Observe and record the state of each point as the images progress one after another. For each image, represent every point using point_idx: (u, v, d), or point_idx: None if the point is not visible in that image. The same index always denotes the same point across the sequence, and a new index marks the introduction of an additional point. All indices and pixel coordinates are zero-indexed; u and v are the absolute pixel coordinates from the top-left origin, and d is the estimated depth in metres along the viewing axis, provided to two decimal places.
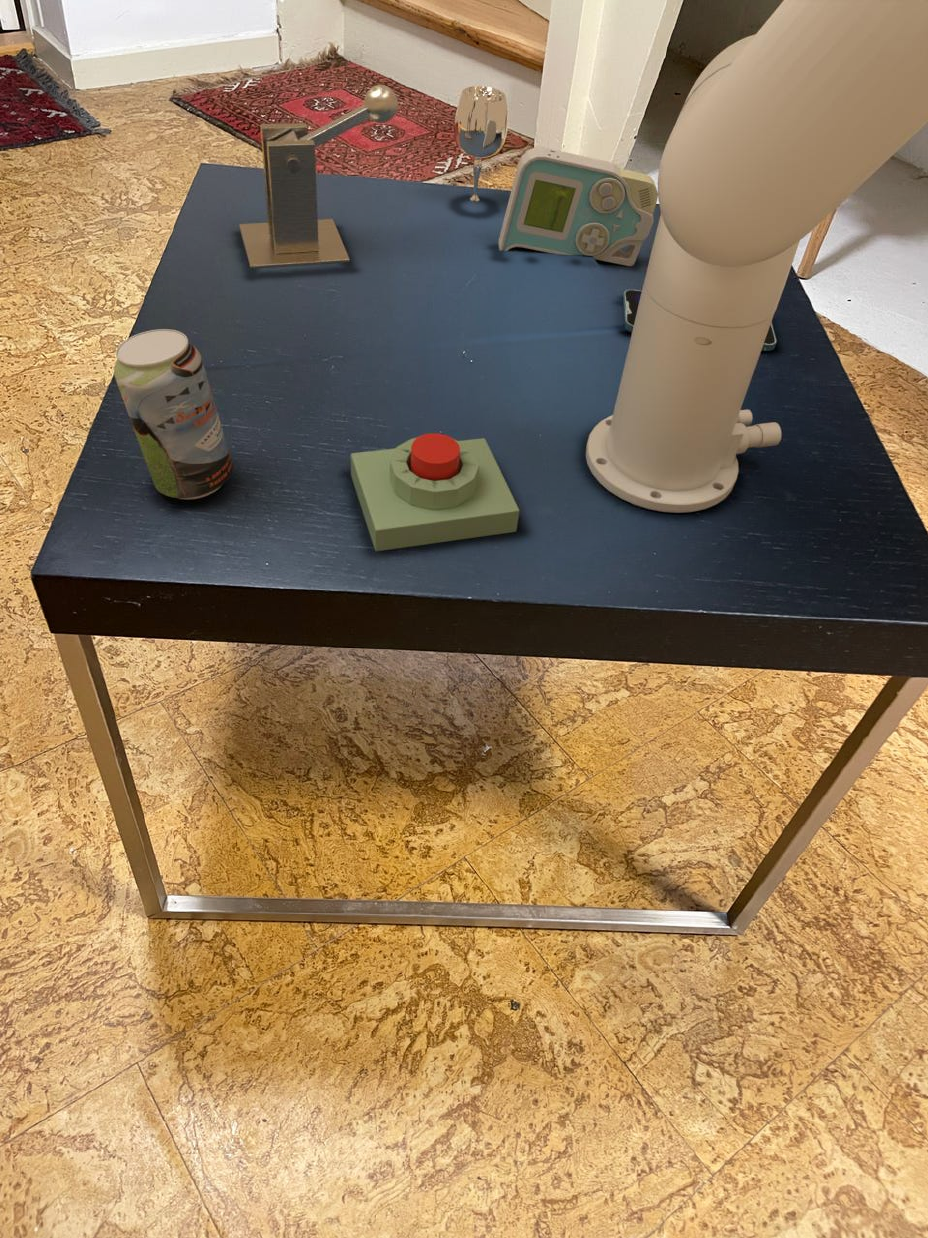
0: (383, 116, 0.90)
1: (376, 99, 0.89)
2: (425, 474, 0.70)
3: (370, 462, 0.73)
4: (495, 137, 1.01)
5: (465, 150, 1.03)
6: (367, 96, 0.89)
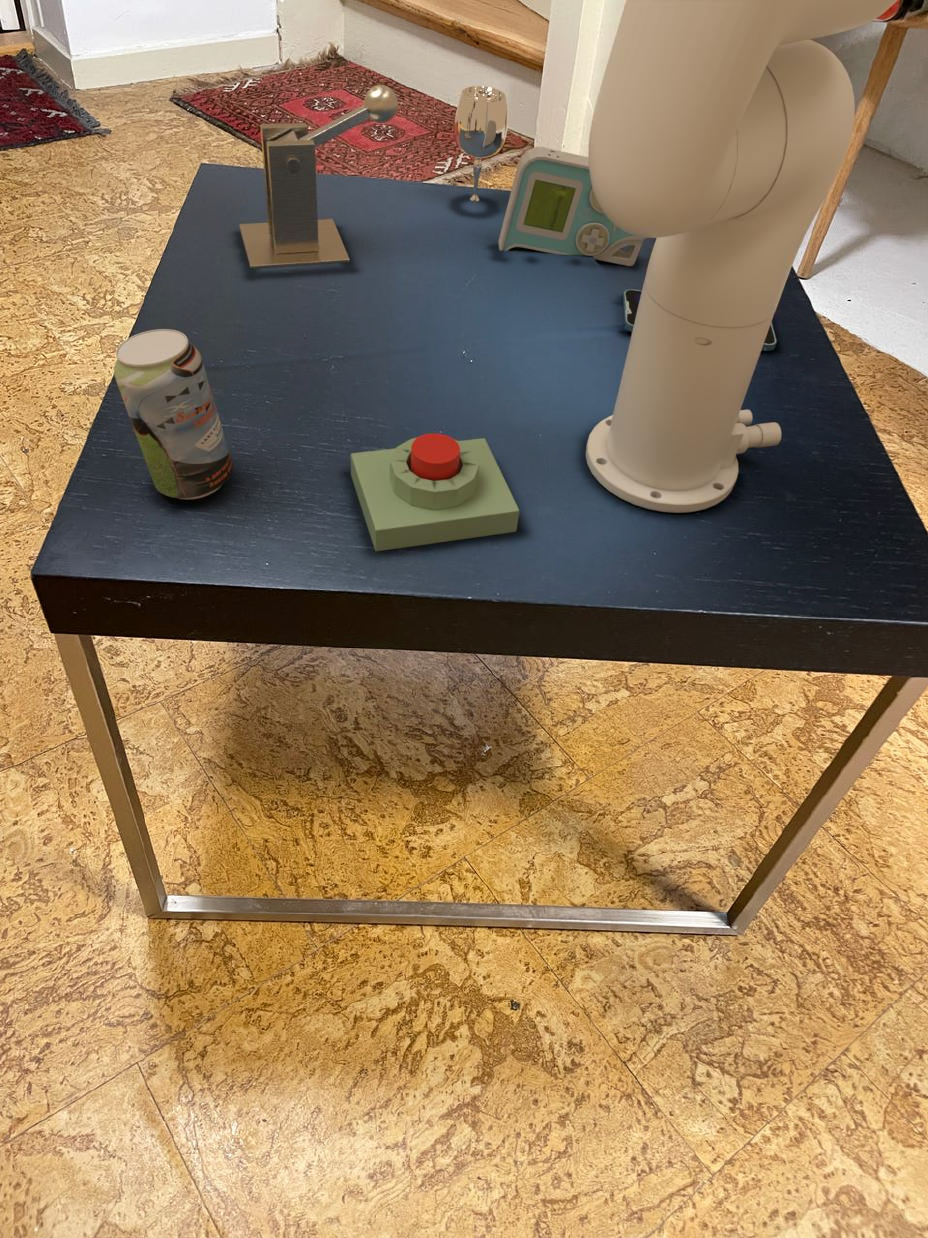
0: (383, 116, 0.90)
1: (376, 99, 0.89)
2: (425, 474, 0.70)
3: (370, 462, 0.73)
4: (495, 137, 1.01)
5: (465, 149, 1.03)
6: (367, 96, 0.89)
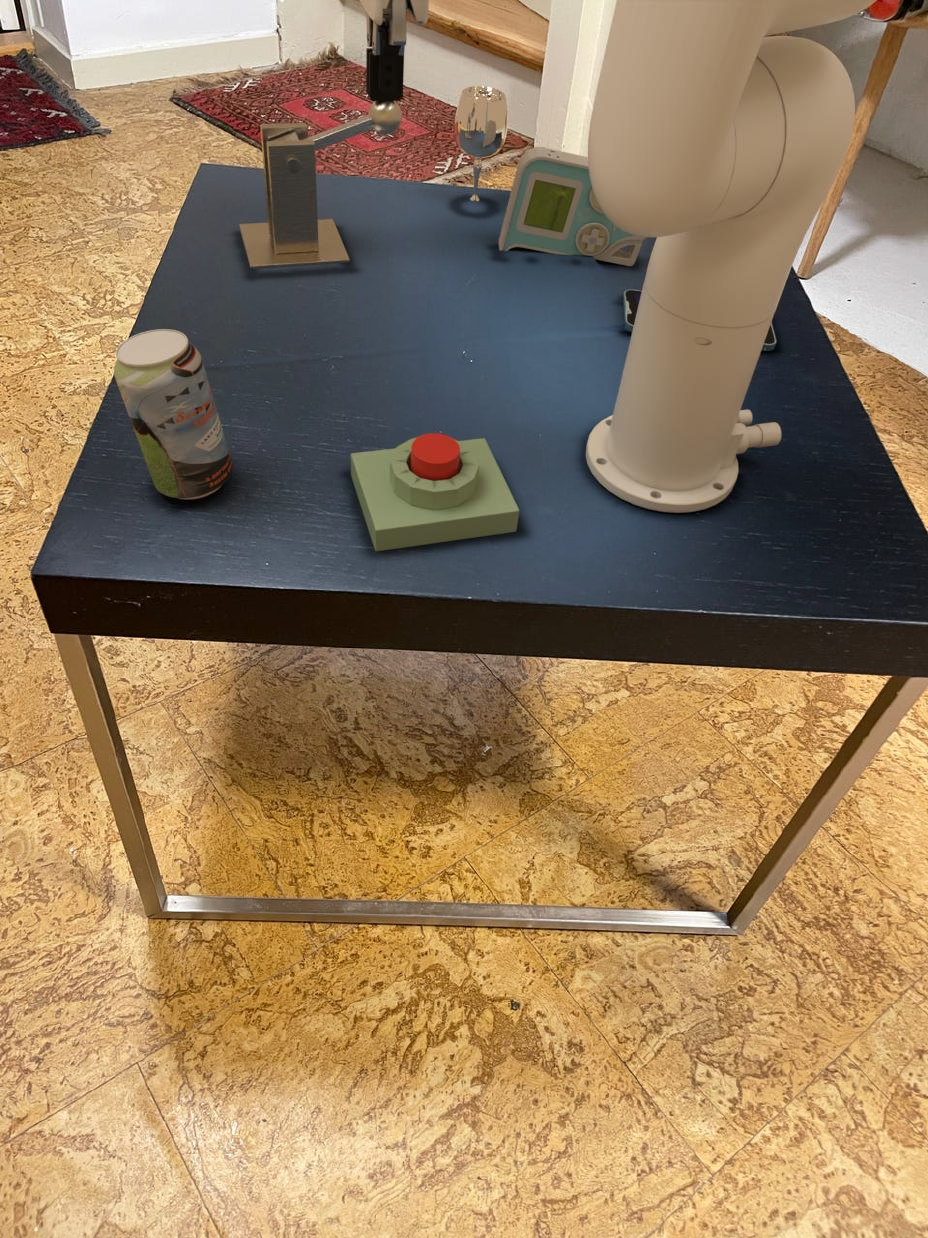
0: (387, 128, 0.91)
1: (381, 111, 0.90)
2: (425, 474, 0.70)
3: (370, 462, 0.73)
4: (495, 137, 1.01)
5: (465, 149, 1.03)
6: (373, 106, 0.90)
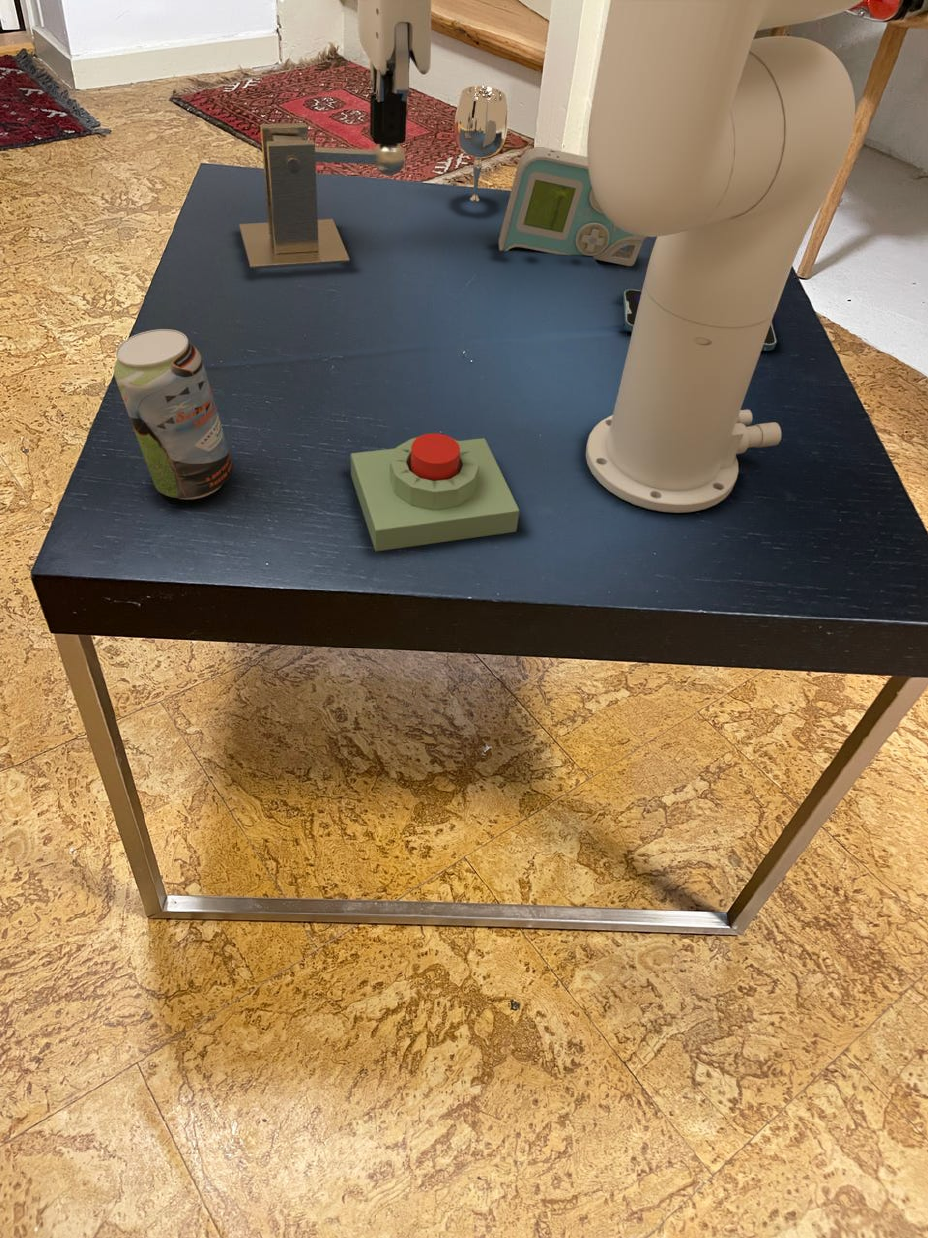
0: (388, 168, 0.94)
1: (389, 151, 0.93)
2: (425, 474, 0.70)
3: (370, 462, 0.73)
4: (495, 137, 1.01)
5: (465, 149, 1.03)
6: (382, 144, 0.93)
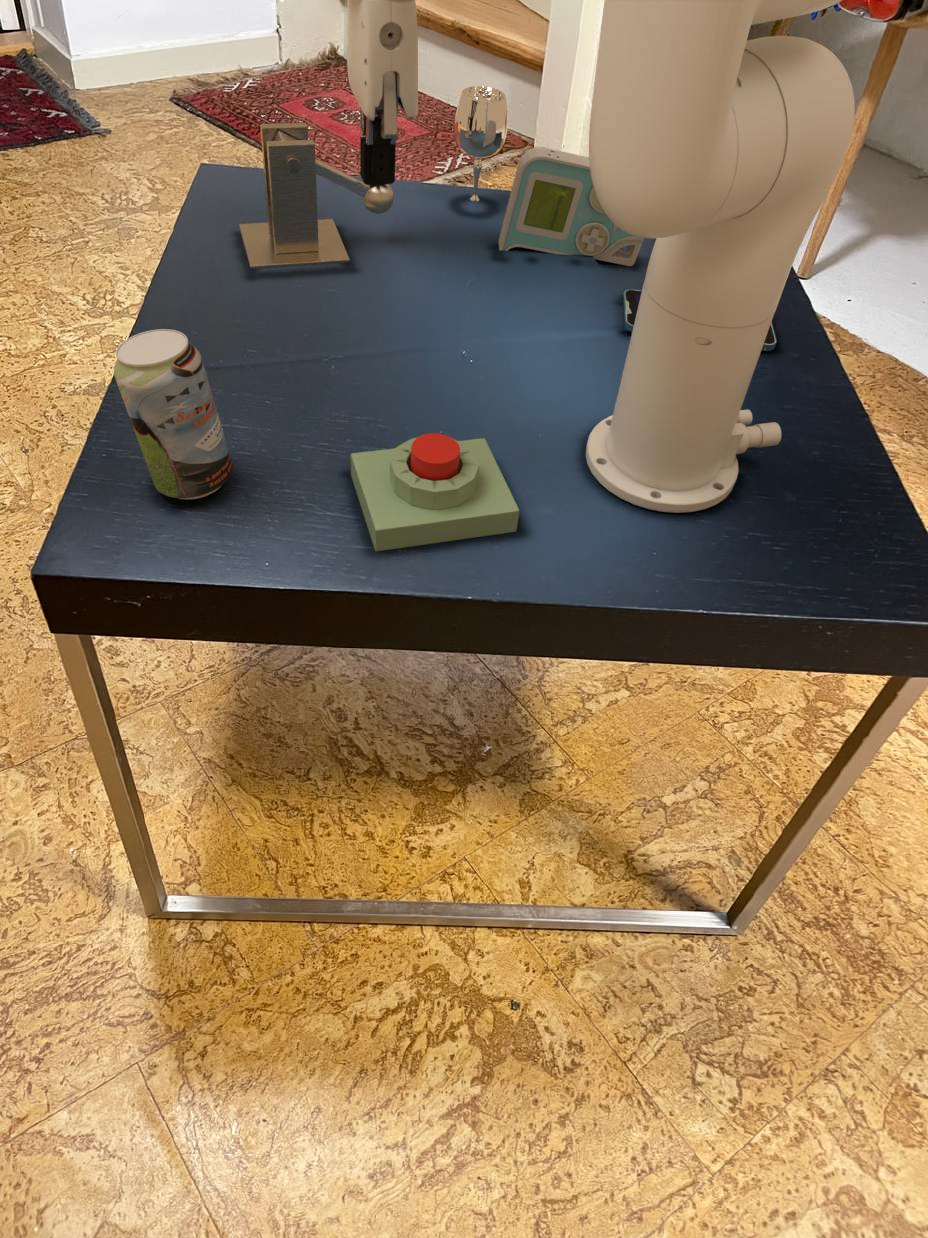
0: (376, 206, 0.96)
1: (382, 191, 0.96)
2: (425, 474, 0.70)
3: (370, 462, 0.73)
4: (495, 137, 1.01)
5: (465, 149, 1.03)
6: None
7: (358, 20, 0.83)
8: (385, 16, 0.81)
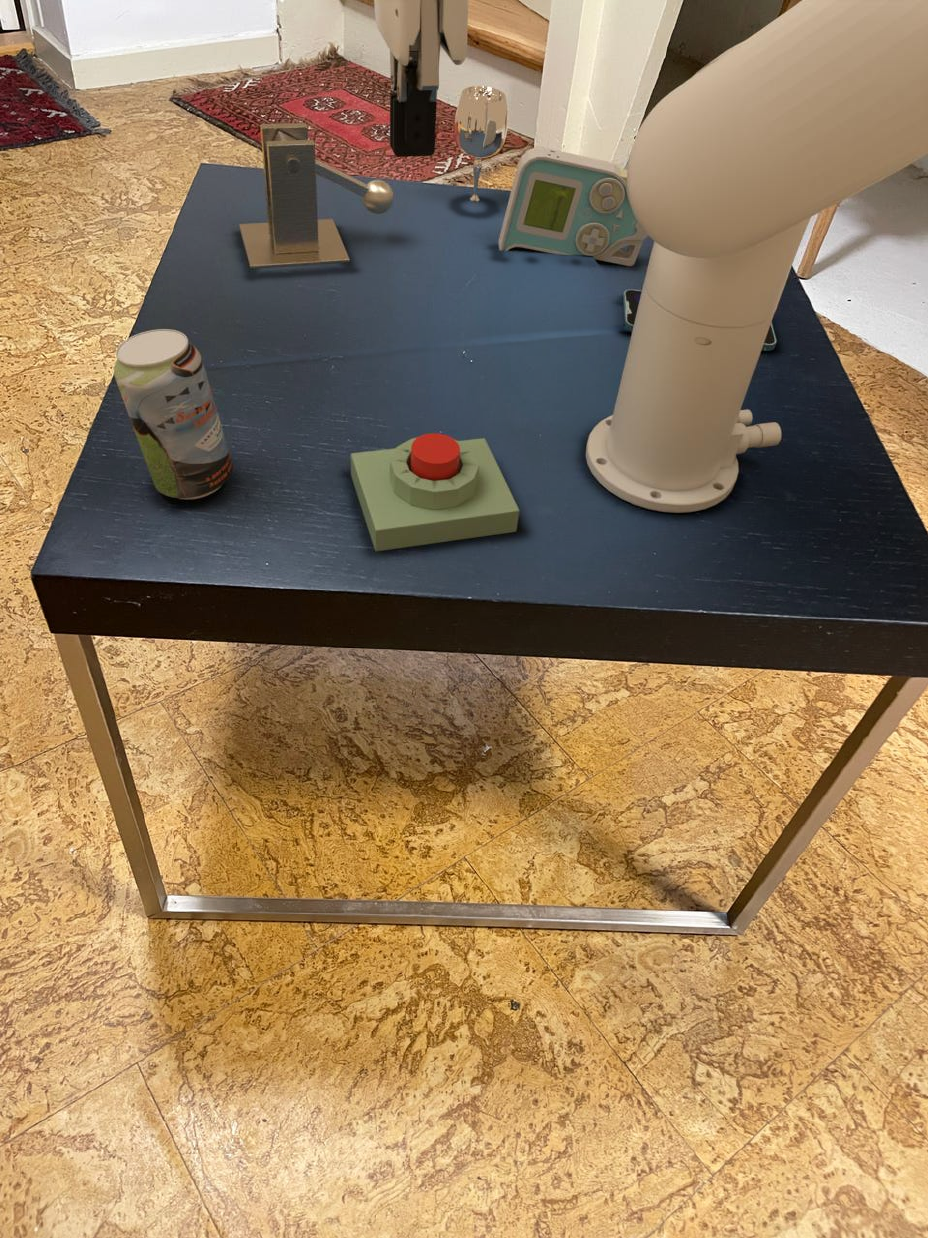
0: (375, 206, 0.96)
1: (382, 191, 0.96)
2: (425, 474, 0.70)
3: (370, 462, 0.73)
4: (495, 137, 1.01)
5: (465, 149, 1.03)
6: (376, 182, 0.96)
7: None
8: None
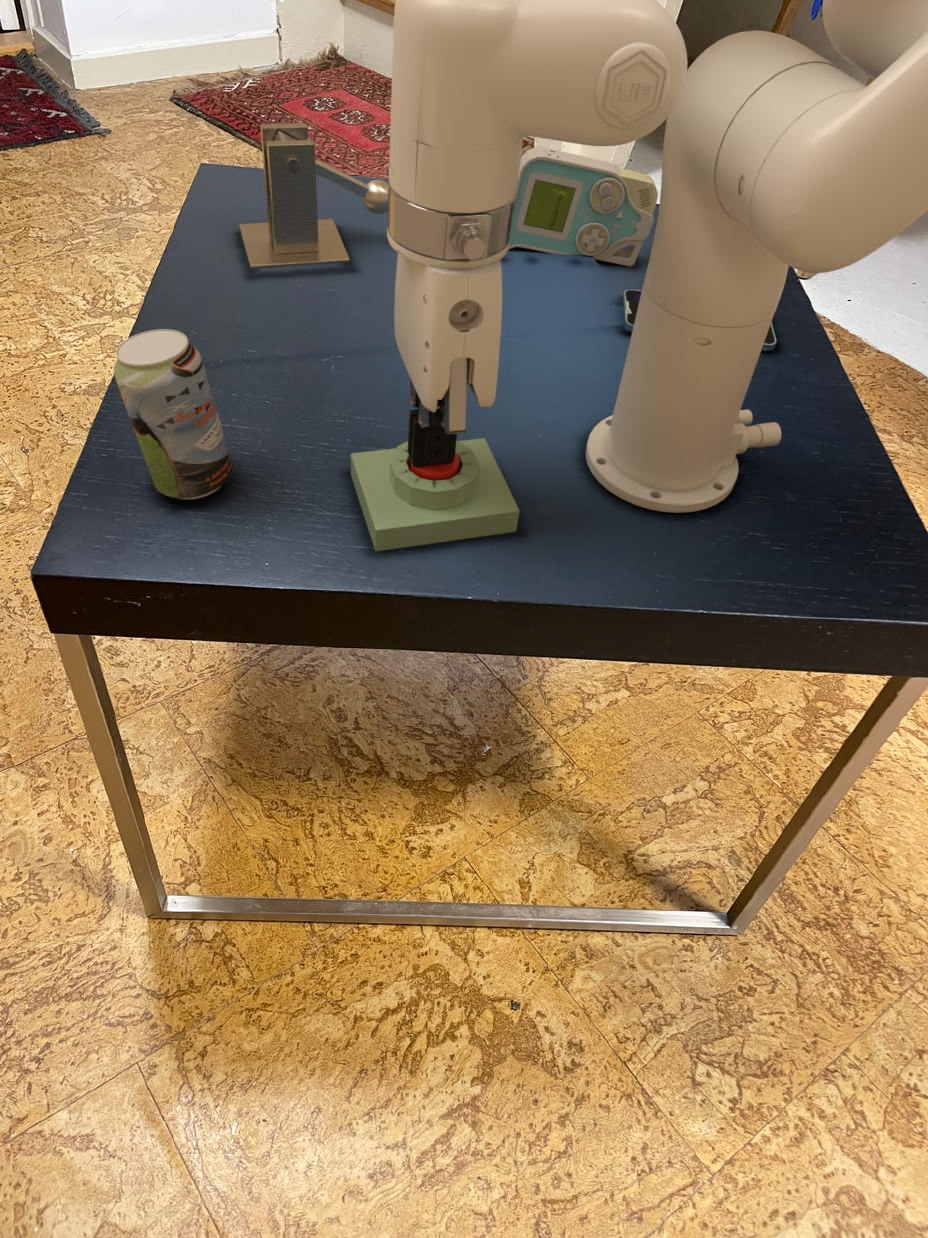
0: (375, 206, 0.96)
1: (382, 191, 0.96)
2: None
3: (370, 462, 0.73)
4: None
5: None
6: (376, 182, 0.96)
7: (417, 290, 0.58)
8: (459, 293, 0.56)
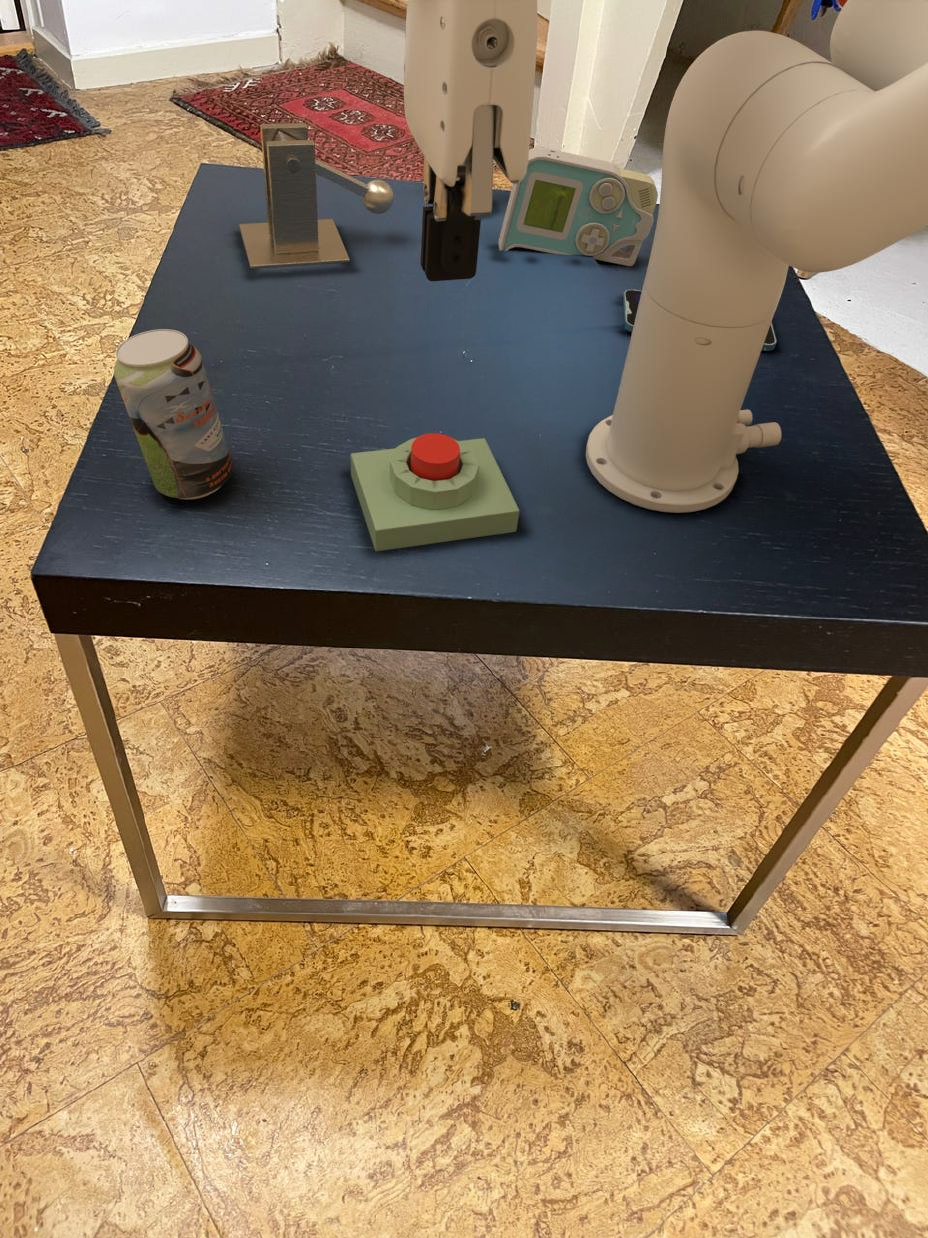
0: (375, 206, 0.96)
1: (382, 191, 0.96)
2: (425, 474, 0.70)
3: (370, 462, 0.73)
4: None
5: None
6: (376, 182, 0.96)
7: (433, 16, 0.47)
8: (484, 8, 0.45)
